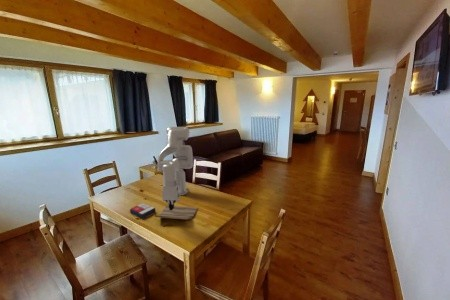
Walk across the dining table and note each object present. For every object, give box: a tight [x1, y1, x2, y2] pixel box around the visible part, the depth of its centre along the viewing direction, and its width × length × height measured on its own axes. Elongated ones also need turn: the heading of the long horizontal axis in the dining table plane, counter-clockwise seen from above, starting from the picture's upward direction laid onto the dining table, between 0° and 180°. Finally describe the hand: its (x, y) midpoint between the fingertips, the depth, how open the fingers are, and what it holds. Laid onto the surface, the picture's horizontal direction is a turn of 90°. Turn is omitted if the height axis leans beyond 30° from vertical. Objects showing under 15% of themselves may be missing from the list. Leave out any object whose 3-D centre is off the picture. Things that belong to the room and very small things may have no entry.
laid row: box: [159, 205, 198, 219], centre depth 153 cm, size 12×24×1 cm, turn 83°
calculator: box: [129, 203, 156, 220], centre depth 153 cm, size 11×4×15 cm
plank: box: [154, 214, 192, 220], centre depth 142 cm, size 9×22×1 cm, turn 83°
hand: (171, 209), depth 138 cm, fingers closed
